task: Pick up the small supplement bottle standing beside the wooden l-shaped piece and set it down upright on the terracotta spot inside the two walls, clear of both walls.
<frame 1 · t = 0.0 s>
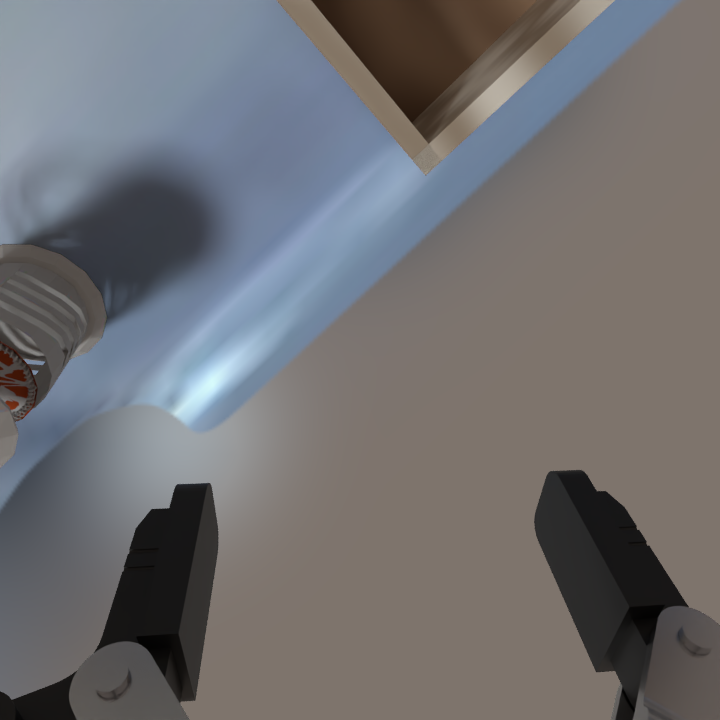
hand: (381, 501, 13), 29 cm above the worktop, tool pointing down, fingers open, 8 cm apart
french press: (28, 296, 41), on the worktop
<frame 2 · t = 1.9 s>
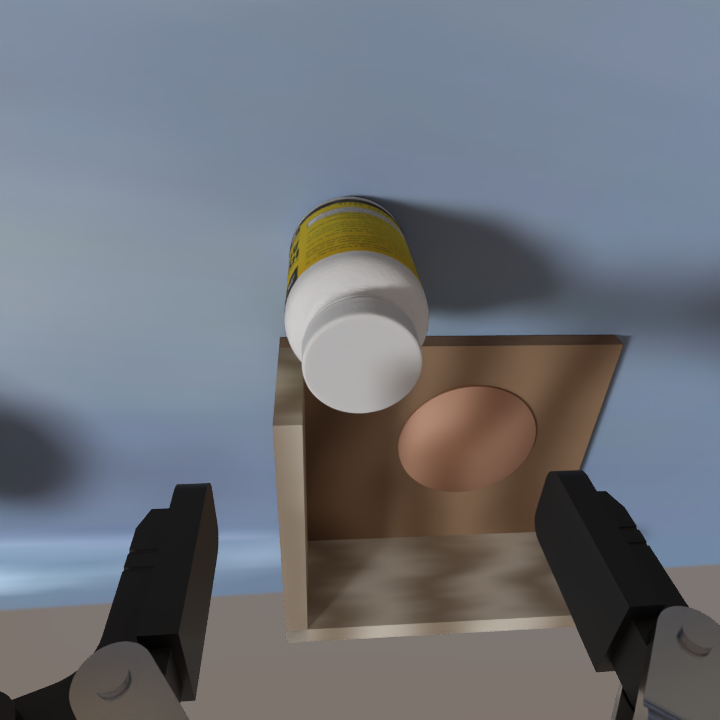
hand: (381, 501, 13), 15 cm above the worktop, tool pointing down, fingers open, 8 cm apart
supplement bottle: (346, 249, 26), on the worktop
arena: (434, 449, 33), on the worktop
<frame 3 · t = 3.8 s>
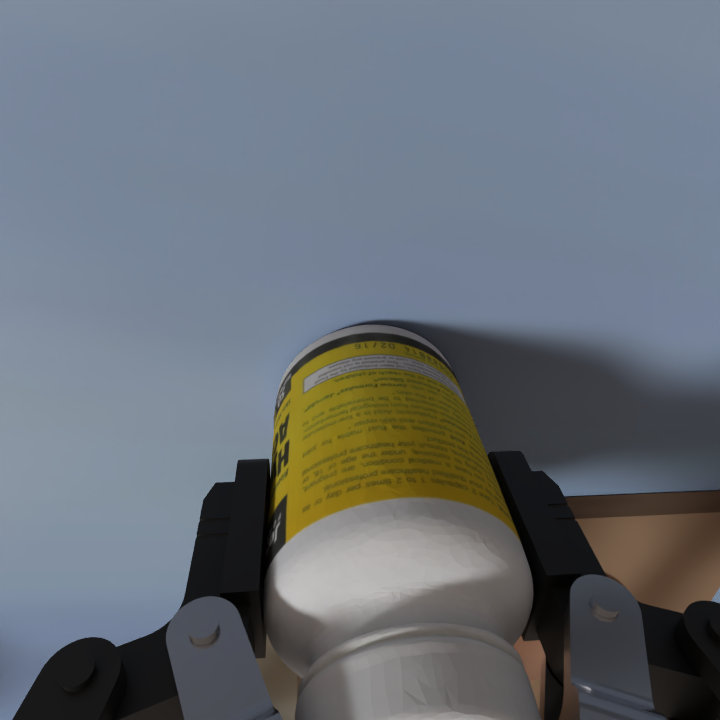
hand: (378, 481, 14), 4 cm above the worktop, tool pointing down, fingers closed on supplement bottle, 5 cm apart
supplement bottle: (364, 393, 17), on the worktop, touching gripper
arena: (481, 627, 24), on the worktop
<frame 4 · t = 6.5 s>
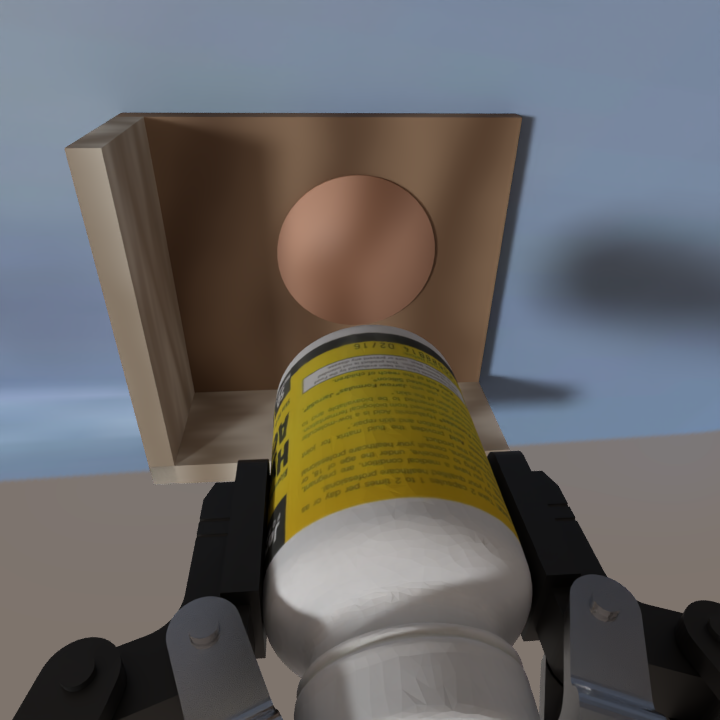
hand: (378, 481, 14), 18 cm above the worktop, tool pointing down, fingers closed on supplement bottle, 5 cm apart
supplement bottle: (364, 393, 17), point 14 cm above the worktop, touching gripper
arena: (326, 274, 30), on the worktop
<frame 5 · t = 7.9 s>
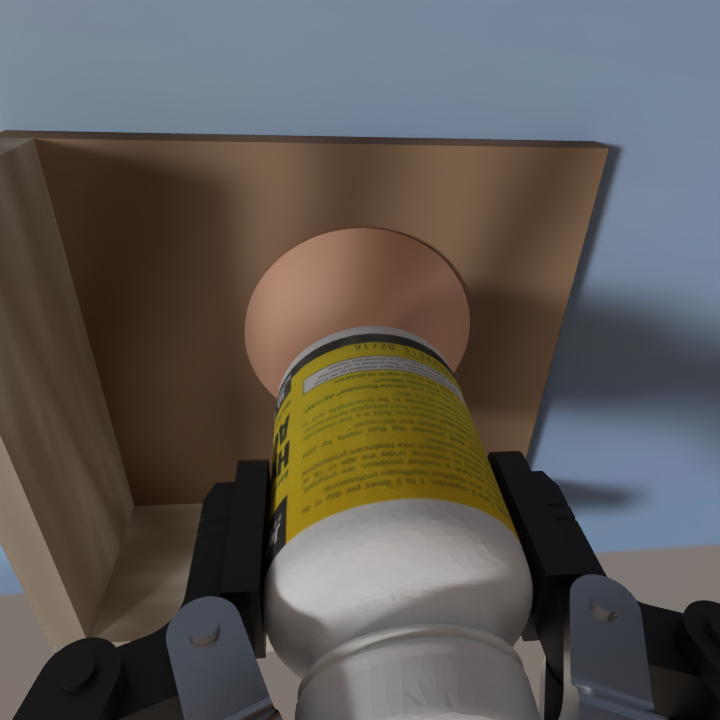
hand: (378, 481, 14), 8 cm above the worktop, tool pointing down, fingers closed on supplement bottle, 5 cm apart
supplement bottle: (364, 393, 17), point 4 cm above the worktop, touching gripper
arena: (316, 355, 21), on the worktop
when the fingers open (6 cm above the worktop, at t = 9.2 s): supplement bottle drops 1 cm, resting on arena.
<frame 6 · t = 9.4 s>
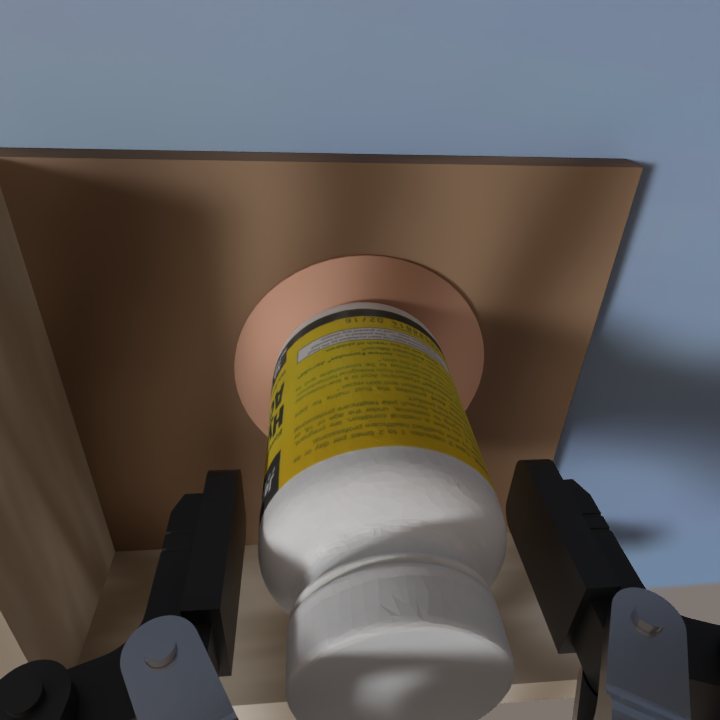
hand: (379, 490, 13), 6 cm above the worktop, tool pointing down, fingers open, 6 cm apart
supplement bottle: (357, 369, 18), point 1 cm above the worktop, touching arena
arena: (314, 390, 19), on the worktop
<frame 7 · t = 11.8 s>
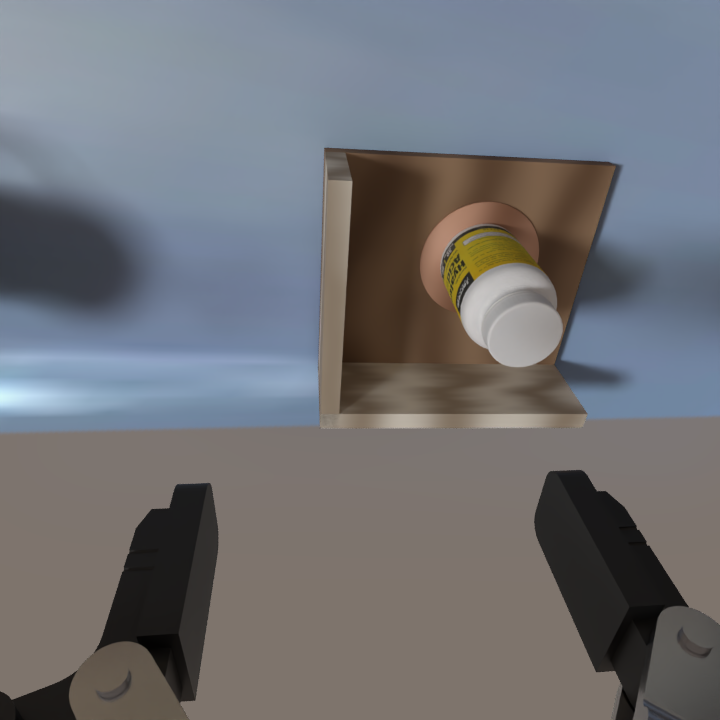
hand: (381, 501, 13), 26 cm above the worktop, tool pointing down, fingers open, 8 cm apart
supplement bottle: (477, 259, 37), point 1 cm above the worktop, touching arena
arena: (450, 274, 38), on the worktop
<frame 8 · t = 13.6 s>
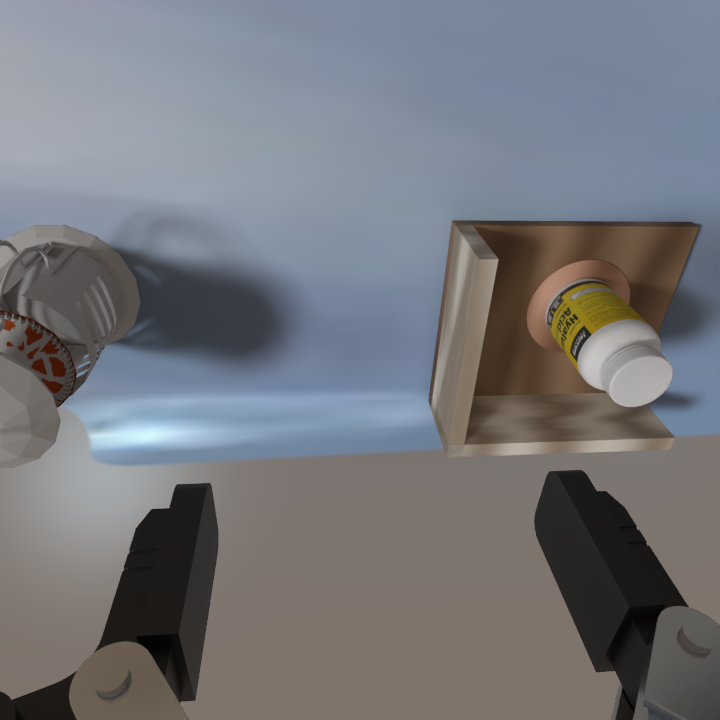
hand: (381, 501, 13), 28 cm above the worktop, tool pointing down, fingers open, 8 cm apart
french press: (68, 278, 39), on the worktop
supplement bottle: (576, 307, 42), point 1 cm above the worktop, touching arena
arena: (549, 318, 44), on the worktop
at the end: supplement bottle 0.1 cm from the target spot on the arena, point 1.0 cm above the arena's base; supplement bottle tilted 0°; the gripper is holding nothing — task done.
